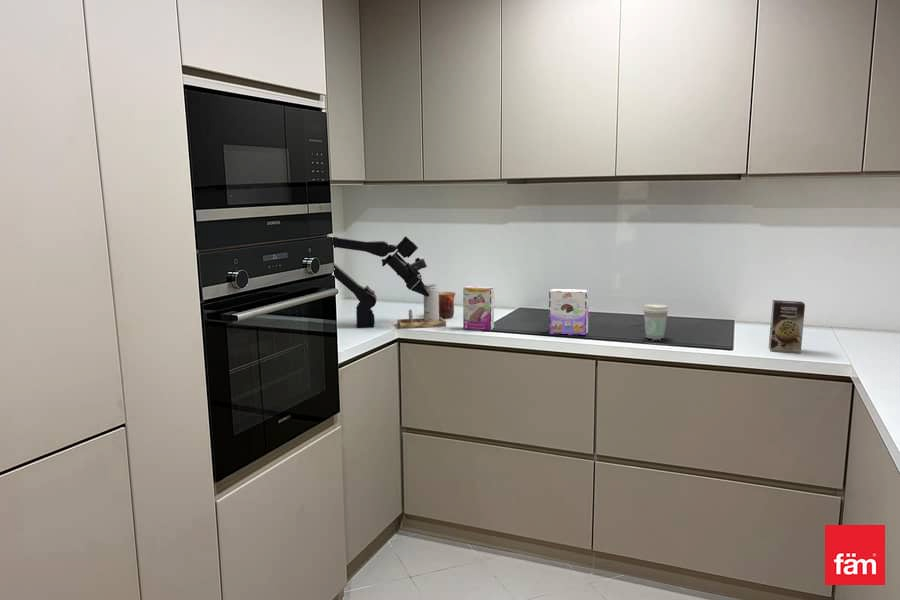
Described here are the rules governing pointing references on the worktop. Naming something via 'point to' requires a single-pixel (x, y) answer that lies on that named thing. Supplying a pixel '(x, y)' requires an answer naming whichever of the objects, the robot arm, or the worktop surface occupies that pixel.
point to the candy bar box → (478, 308)
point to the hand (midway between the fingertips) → (428, 294)
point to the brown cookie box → (786, 326)
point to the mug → (446, 304)
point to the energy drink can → (431, 303)
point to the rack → (420, 323)
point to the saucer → (410, 316)
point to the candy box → (568, 311)
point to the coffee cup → (655, 320)
